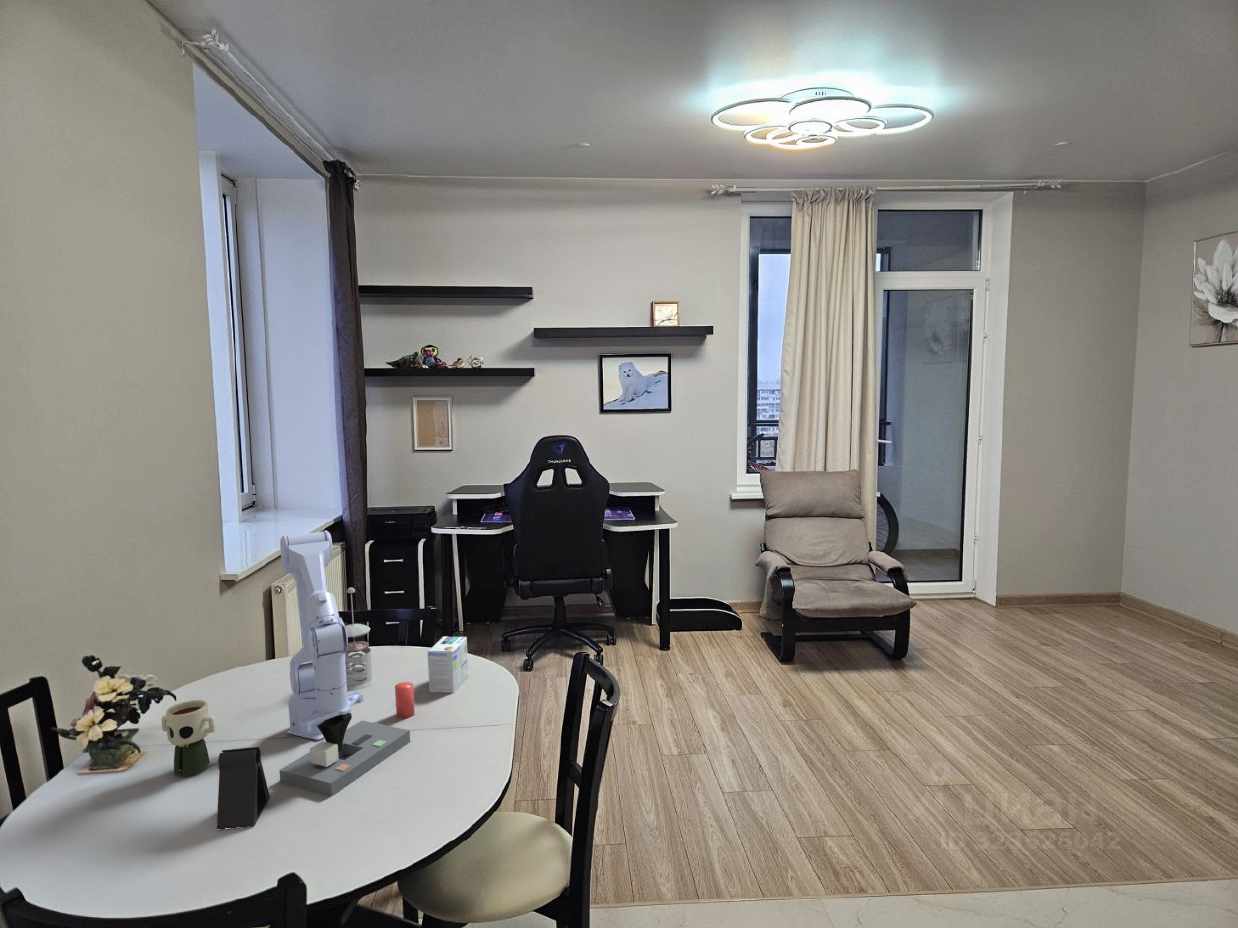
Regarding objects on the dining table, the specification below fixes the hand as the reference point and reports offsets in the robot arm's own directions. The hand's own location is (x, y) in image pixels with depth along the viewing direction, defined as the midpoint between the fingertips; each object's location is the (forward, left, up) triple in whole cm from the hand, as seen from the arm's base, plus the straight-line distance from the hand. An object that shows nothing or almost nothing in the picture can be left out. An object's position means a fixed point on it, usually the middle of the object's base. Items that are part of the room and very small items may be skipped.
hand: (335, 750), depth 142 cm
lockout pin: (-3, +24, -4) cm, 25 cm away
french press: (-28, +34, -4) cm, 44 cm away
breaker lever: (0, -3, -1) cm, 3 cm away
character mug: (-27, -11, -4) cm, 29 cm away
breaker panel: (0, +3, -4) cm, 5 cm away
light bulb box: (-4, +42, -4) cm, 43 cm away
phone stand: (-4, -18, -4) cm, 19 cm away
